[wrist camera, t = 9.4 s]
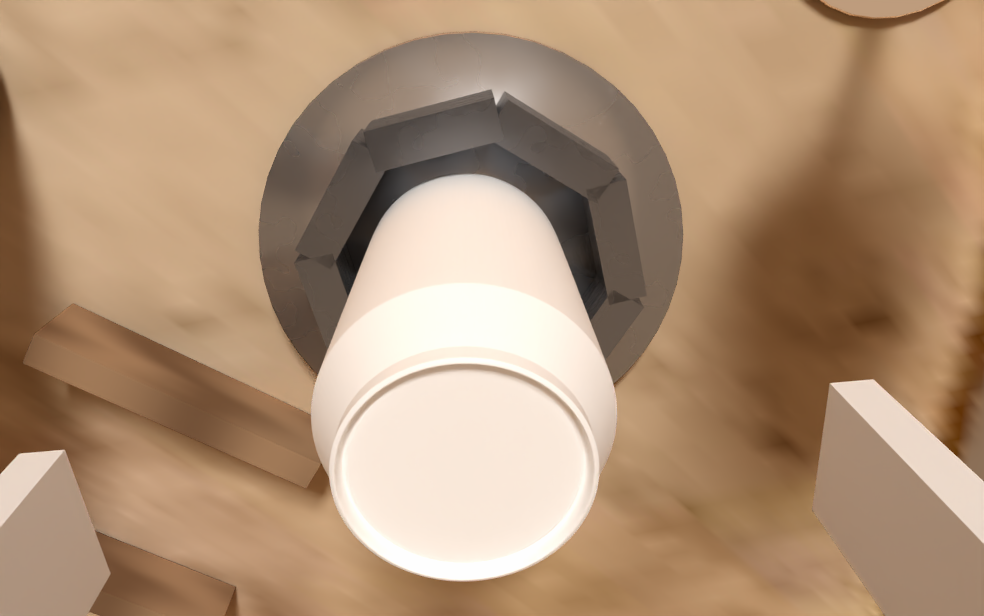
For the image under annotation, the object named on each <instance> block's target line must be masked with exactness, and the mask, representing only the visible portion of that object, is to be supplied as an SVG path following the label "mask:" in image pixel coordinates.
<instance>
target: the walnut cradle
mask: <svg viewBox="0 0 984 616" xmlns="http://www.w3.org/2000/svg"><path fill="white" fill-rule="evenodd" d="M23 364H25V365H28V366H30V367H32V368H34V369H37V370H39V371H41V372H43V373H46V374H48V375H50V376H52V377H55V378H57V379H59V380H61V381H64V382H66V383H68V384H71V385H73V386H75V387H77V388H80V389H82V390H84V391H86V392H89V393H91V394H93V395H95V396H98V397H100V398H102V399H104V400H107V401H109V402H111V403H113V404H116V405H118V406H120V407H122V408H125V409H127V410H129V411H132V412H134V413H136V414H138V415H141V416H143V417H145V418H147V419H150V420H152V421H154V422H156V423H159V424H161V425H163V426H165V427H168V428H170V429H172V430H174V431H177V432H179V433H181V434H184V435H186V436H188V437H190V438H193V439H195V440H197V441H199V442H202V443H204V444H206V445H208V446H211V447H213V448H215V449H217V450H220V451H222V452H224V453H226V454H229V455H231V456H233V457H235V458H238V459H240V460H242V461H245V462H247V463H249V464H251V465H254V466H256V467H258V468H260V469H263V470H265V471H267V472H269V473H272V474H274V475H276V476H278V477H281V478H283V479H285V480H287V481H290V482H292V483H294V484H296V485H299V486H301V487H303V488H307V486H308V485H309V483H310V481H311V480H312V478H313V476H314V475H315V473H316V471H317V470H318V468H319V467H320V465H321V461H320V458H319V456H318V453H317V450H316V447H315V443H314V439H313V433H312V426H311V415H310V414H308V413H306V412H303V411H301V410H299V409H297V408H295V407H293V406H291V405H289V404H286V403H284V402H282V401H280V400H278V399H276V398H274V397H272V396H269V395H267V394H265V393H263V392H261V391H259V390H257V389H254V388H252V387H250V386H248V385H246V384H244V383H242V382H240V381H237V380H235V379H233V378H231V377H229V376H227V375H225V374H222V373H220V372H218V371H216V370H214V369H212V368H210V367H208V366H205V365H203V364H201V363H199V362H197V361H195V360H193V359H190V358H188V357H186V356H184V355H182V354H180V353H178V352H176V351H173V350H171V349H169V348H167V347H165V346H163V345H161V344H158V343H156V342H154V341H152V340H150V339H148V338H146V337H144V336H141V335H139V334H137V333H135V332H133V331H131V330H129V329H126V328H124V327H122V326H120V325H118V324H116V323H114V322H112V321H109V320H107V319H105V318H103V317H101V316H99V315H97V314H95V313H92V312H90V311H88V310H86V309H84V308H82V307H80V306H77V305H75V304H72V305H70V306H69V307H68V308H67V309H65V310H64V311H63V312H61V313H60V314H59V315H58V316H56V317H55V318H54V319H53V320H51V321H50V322H49V323H47V324H46V325H45V326H44V327H42V328H41V329H40V330H39V331H37V332H36V333H35V334H34V335H33V338H32V340H31V343H30V345H29V348H28V350H27V353H26V355H25V358H24V360H23ZM95 533H96V535H97V538H98V541H99V543H100V546H101V549H102V552H103V554H104V557H105V560H106V562H107V565H108V568H109V571H110V573H111V574H110V576H109V578H108V579H107V581H106V583H105V585H104V586H103V588H102V590H101V591H100V593H99V595H98V597H97V598H96V600H95V602H94V604H93V605H92V607H91V609H90V611H89V612H92V613H94V614H97V615H100V616H225V613H226V611H227V608H228V606H229V603H230V601H231V598H232V595H233V593H234V590H235V588H236V587H234V586H232V585H229V584H227V583H224V582H222V581H219V580H217V579H214V578H212V577H209V576H207V575H204V574H202V573H199V572H197V571H194V570H192V569H189V568H187V567H184V566H181V565H179V564H176V563H174V562H171V561H169V560H166V559H164V558H161V557H159V556H156V555H154V554H151V553H149V552H146V551H144V550H141V549H139V548H136V547H134V546H131V545H129V544H126V543H124V542H121V541H119V540H116V539H114V538H111V537H109V536H106V535H104V534H101V533H99V532H96V531H95Z"/></svg>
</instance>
